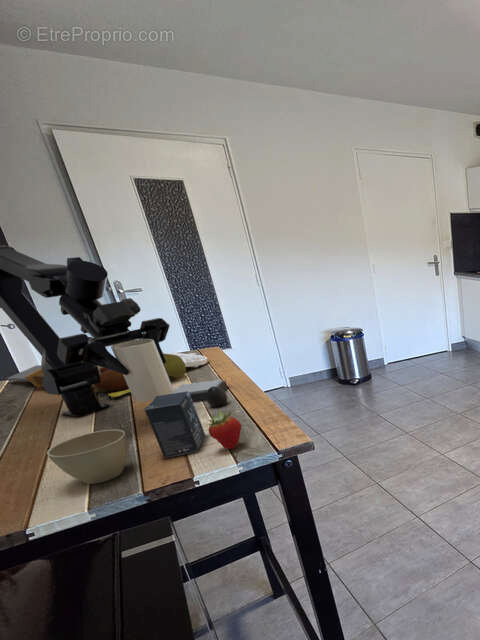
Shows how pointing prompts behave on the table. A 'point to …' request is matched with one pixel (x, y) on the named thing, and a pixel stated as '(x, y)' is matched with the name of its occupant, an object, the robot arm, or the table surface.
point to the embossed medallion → (191, 359)
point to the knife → (30, 376)
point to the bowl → (92, 456)
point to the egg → (216, 397)
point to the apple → (174, 366)
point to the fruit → (225, 430)
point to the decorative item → (120, 394)
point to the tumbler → (143, 369)
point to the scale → (200, 389)
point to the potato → (112, 381)
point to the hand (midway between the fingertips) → (146, 368)
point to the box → (175, 424)
